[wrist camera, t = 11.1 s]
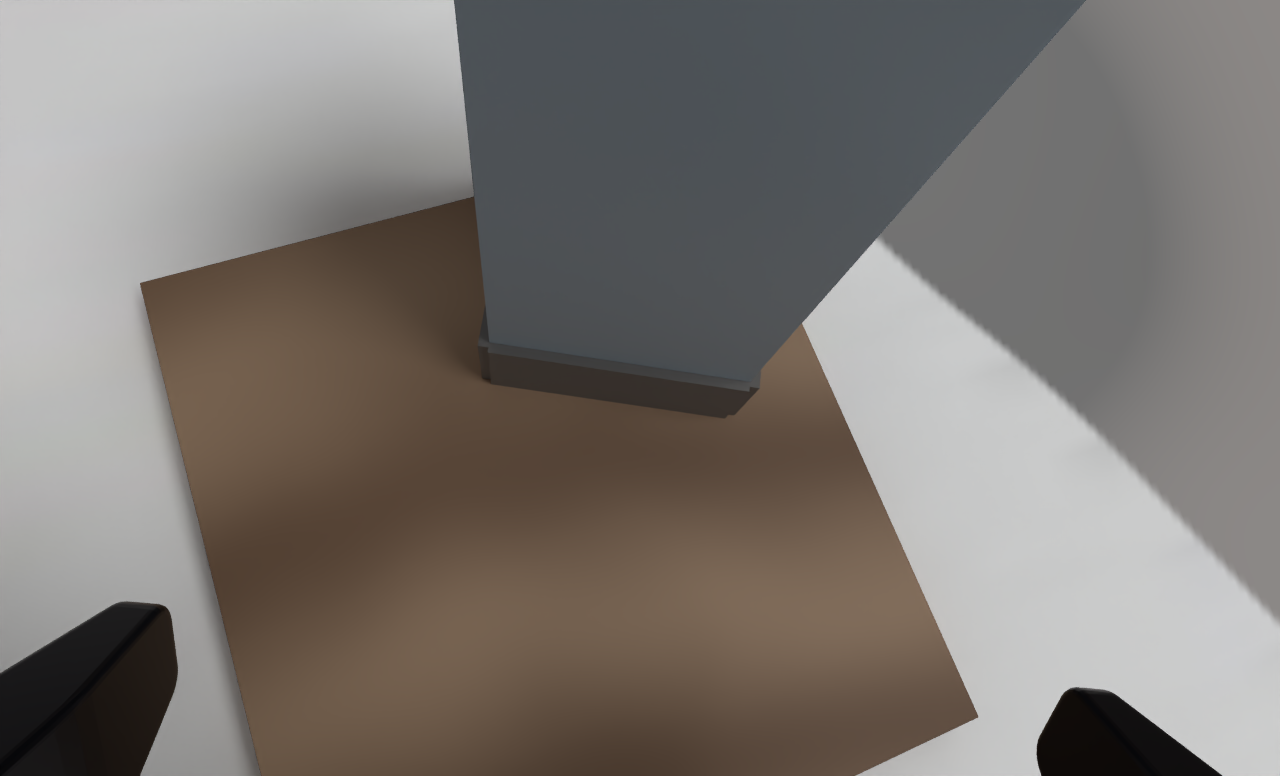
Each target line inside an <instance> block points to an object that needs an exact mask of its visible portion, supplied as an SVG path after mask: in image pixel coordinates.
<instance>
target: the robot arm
mask: <svg viewBox="0 0 1280 776" xmlns="http://www.w3.org/2000/svg"><path fill="white" fill-rule="evenodd" d="M177 675H178V664H177V657H176V649H175V641H174V634H173V626H172V619H171V615H170V612H169V610H168V609H167V608H166V607H165V606H163V605H160V604H150V603H139V602H128V601H126V602H119V603H116V604H114V605H112V606H110V607H108V608H107V609H105V610H103V611H102V612H100V613H98V614H97V615H95V616H93V617H92V618H90V619H88V620H87V621H85V622H84V623H82V624H80V625H79V626H77V627H75V628H74V629H72V630H70V631H69V632H67V633H66V634H64V635H62V636H61V637H59V638H57V639H56V640H54V641H52V642H51V643H49V644H47V645H46V646H44V647H43V648H41V649H39V650H38V651H36V652H34V653H33V654H31V655H29V656H28V657H26V658H24V659H23V660H21V661H20V662H18V663H16V664H15V665H13V666H11V667H10V668H8V669H6V670H5V671H3V672H1V673H0V776H140V774H141V772H142V769H143V767H144V764H145V762H146V760H147V757H148V755H149V752H150V750H151V747H152V745H153V742H154V740H155V737H156V735H157V733H158V730H159V728H160V725H161V723H162V720H163V718H164V715H165V713H166V711H167V708H168V706H169V703H170V701H171V698H172V696H173V693H174V690H175V686H176V682H177ZM1037 761H1038V766H1039V769H1040V773H1041V776H1222V775H1221V774H1220V773H1218V772H1217V771H1216V770H1214V769H1213V768H1212V767H1210V766H1209V765H1208V764H1206V763H1205V762H1204V761H1202V760H1201V759H1200V758H1198V757H1197V756H1196V755H1195V754H1193V753H1192V752H1191V751H1189V750H1188V749H1187V748H1185V747H1184V746H1183V745H1181V744H1180V743H1179V742H1177V741H1176V740H1175V739H1173V738H1172V737H1171V736H1170V735H1168V734H1167V733H1166V732H1164V731H1163V730H1162V729H1160V728H1159V727H1158V726H1156V725H1155V724H1154V723H1152V722H1151V721H1150V720H1148V719H1147V718H1146V717H1145V716H1143V715H1142V714H1141V713H1139V712H1138V711H1137V710H1135V709H1134V708H1133V707H1131V706H1130V705H1129V704H1127V703H1126V702H1125V701H1124V700H1122V699H1121V698H1120V697H1118V696H1117V695H1115V694H1114V693H1112V692H1110V691H1106V690H1101V689H1090V688H1079V687H1074V688H1070V689H1069V690H1067V691H1066V692H1064V694H1063V695H1062V696H1061V698H1060V700H1059V702H1058V704H1057V705H1056V707H1055V709H1054V711H1053V713H1052V715H1051V716H1050V718H1049V720H1048V722H1047V724H1046V726H1045V727H1044V729H1043V731H1042V733H1041V735H1040V737H1039V739H1038V743H1037Z"/></svg>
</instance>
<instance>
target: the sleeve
mask: <svg viewBox="0 0 1280 776" xmlns="http://www.w3.org/2000/svg"><path fill="white" fill-rule="evenodd" d="M1085 1H1086V0H454V4H455V14H456V24H457V33H458V43H459V53H460V63H461V72H462V82H463V92H464V101H465V111H466V121H467V131H468V140H469V150H470V160H471V169H472V179H473V189H474V199H475V208H476V218H477V228H478V237H479V247H480V257H481V267H482V276H483V286H484V296H485V308H484V314H483V319H482V324H481V330H480V335H479V341H478V352H479V359H480V366H481V373H482V378H484V379H490V380H491V384H493V385H500V386H506V387H513V388H520V389H527V390H534V391H541V392H547V393H554V394H561V395H568V396H575V397H581V398H588V399H595V400H602V401H609V402H615V403H622V404H629V405H636V406H643V407H650V408H656V409H663V410H670V411H677V412H684V413H690V414H697V415H704V416H711V417H718V418H724V419H725V418H726V417H727V416H728V415H735V414H736V413H737V412H738V411H739V410H740V409H741V408H742V407H743V406H744V405H745V404H746V402H747V401H748V400H749V399H750V398H751V397H752V396H753V395H754V394H755V393H756V392H757V391H758V390H759V389H760V379H761V369H762V368H763V367H764V365H765V364H766V363H767V362H768V361H769V360H770V359H771V358H772V356H773V355H774V354H775V353H776V352H777V351H778V350H779V348H780V347H781V346H782V345H783V344H784V343H785V342H786V340H787V339H788V338H789V337H790V336H791V335H792V334H793V333H794V331H795V330H796V329H797V328H798V327H799V326H800V325H801V323H802V322H803V321H804V320H805V319H806V318H807V317H808V316H809V314H810V313H811V312H812V311H813V310H814V309H815V308H816V306H817V305H818V304H819V303H820V302H821V301H822V300H823V298H824V297H825V296H826V295H827V294H828V293H829V292H830V291H831V289H832V288H833V287H834V286H835V285H836V284H837V283H838V281H839V280H840V279H841V278H842V277H843V276H844V275H845V273H846V272H847V271H848V270H849V269H850V268H851V267H852V266H853V264H854V263H855V262H856V261H857V260H858V259H859V258H860V256H861V255H862V254H863V253H864V252H865V251H866V250H867V249H868V247H869V246H870V245H871V244H872V243H873V242H874V241H875V239H876V238H877V237H878V236H879V235H880V234H881V233H882V231H883V230H884V229H885V228H886V227H887V226H888V225H889V224H890V222H891V221H892V220H893V219H894V218H895V217H896V216H897V214H898V213H899V212H900V211H901V210H902V209H903V208H904V207H905V205H906V204H907V203H908V202H909V201H910V200H911V199H912V197H913V196H914V195H915V194H916V193H917V192H918V191H919V189H920V188H921V187H922V186H923V185H924V184H925V183H926V181H927V180H928V179H929V178H930V177H931V176H932V175H933V174H934V172H935V171H936V170H937V169H938V168H939V167H940V166H941V164H942V163H943V162H944V161H945V160H946V159H947V158H948V156H949V155H950V154H951V153H952V152H953V151H954V150H955V149H956V147H957V146H958V145H959V144H960V143H961V142H962V141H963V140H964V138H965V137H966V136H967V135H968V134H969V133H970V132H971V130H972V129H973V128H974V127H975V126H976V125H977V124H978V122H979V121H980V120H981V119H982V118H983V117H984V116H985V115H986V113H987V112H988V111H989V110H990V109H991V108H992V107H993V105H994V104H995V103H996V102H997V101H998V100H999V99H1000V97H1001V96H1002V95H1003V94H1004V93H1005V92H1006V91H1007V89H1008V88H1009V87H1010V86H1011V85H1012V84H1013V83H1014V82H1015V80H1016V79H1017V78H1018V77H1019V76H1020V75H1021V74H1022V73H1023V71H1024V70H1025V69H1026V68H1027V67H1028V66H1029V65H1030V63H1031V62H1032V61H1033V60H1034V59H1035V58H1036V57H1037V55H1038V54H1039V53H1040V52H1041V51H1042V50H1043V49H1044V47H1045V46H1046V45H1047V44H1048V43H1049V42H1050V41H1051V39H1052V38H1053V37H1054V36H1055V35H1056V33H1058V32H1059V30H1060V29H1061V28H1062V27H1063V26H1064V25H1065V24H1066V23H1067V21H1068V20H1069V19H1070V18H1071V17H1072V16H1073V15H1074V13H1075V12H1076V11H1077V10H1078V9H1079V8H1080V6H1081V5H1082V4H1083V3H1084V2H1085Z"/></svg>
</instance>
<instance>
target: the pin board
mask: <svg viewBox="0 0 1280 776" xmlns="http://www.w3.org/2000/svg"><path fill="white" fill-rule="evenodd" d="M140 285H141V290H142V294H143V298H144V302H145V306H146V310H147V314H148V318H149V322H150V326H151V330H152V334H153V338H154V342H155V346H156V350H157V355H158V359H159V363H160V367H161V371H162V375H163V379H164V383H165V387H166V391H167V395H168V399H169V403H170V407H171V411H172V415H173V419H174V424H175V428H176V432H177V436H178V440H179V444H180V448H181V452H182V456H183V460H184V464H185V468H186V472H187V476H188V480H189V484H190V489H191V493H192V497H193V501H194V505H195V509H196V513H197V517H198V521H199V525H200V529H201V533H202V537H203V541H204V545H205V549H206V554H207V558H208V562H209V566H210V570H211V574H212V578H213V582H214V586H215V590H216V594H217V598H218V602H219V606H220V610H221V614H222V618H223V623H224V627H225V631H226V635H227V639H228V643H229V647H230V651H231V655H232V659H233V663H234V667H235V671H236V675H237V679H238V683H239V688H240V692H241V696H242V700H243V704H244V708H245V712H246V716H247V720H248V724H249V728H250V732H251V736H252V740H253V744H254V748H255V753H256V757H257V761H258V765H259V769H260V773H261V776H855V775H858V774H860V773H862V772H864V771H866V770H868V769H870V768H872V767H874V766H876V765H879V764H881V763H883V762H885V761H887V760H889V759H891V758H893V757H895V756H898V755H900V754H902V753H904V752H906V751H908V750H910V749H912V748H914V747H916V746H919V745H921V744H923V743H925V742H927V741H929V740H931V739H933V738H935V737H938V736H940V735H942V734H944V733H946V732H948V731H950V730H952V729H954V728H957V727H959V726H961V725H963V724H965V723H967V722H969V721H971V720H973V719H975V718H978V715H977V712H976V710H975V708H974V706H973V703H972V701H971V699H970V697H969V695H968V692H967V690H966V688H965V686H964V683H963V681H962V679H961V677H960V674H959V672H958V670H957V668H956V666H955V663H954V661H953V659H952V657H951V654H950V652H949V650H948V648H947V646H946V643H945V641H944V639H943V637H942V634H941V632H940V630H939V628H938V625H937V623H936V621H935V619H934V617H933V614H932V612H931V610H930V608H929V605H928V603H927V601H926V599H925V597H924V594H923V592H922V590H921V588H920V585H919V583H918V581H917V579H916V576H915V574H914V572H913V570H912V568H911V565H910V563H909V561H908V559H907V556H906V554H905V552H904V550H903V547H902V545H901V543H900V541H899V539H898V536H897V534H896V532H895V530H894V527H893V525H892V523H891V521H890V519H889V516H888V514H887V512H886V510H885V507H884V505H883V503H882V501H881V498H880V496H879V494H878V492H877V490H876V487H875V485H874V483H873V481H872V478H871V476H870V474H869V472H868V470H867V467H866V465H865V463H864V461H863V458H862V456H861V454H860V452H859V449H858V447H857V445H856V443H855V441H854V438H853V436H852V434H851V432H850V429H849V427H848V425H847V423H846V421H845V418H844V416H843V414H842V412H841V409H840V407H839V405H838V403H837V400H836V398H835V396H834V394H833V392H832V389H831V387H830V385H829V383H828V380H827V378H826V376H825V374H824V372H823V369H822V367H821V365H820V363H819V360H818V358H817V356H816V354H815V351H814V349H813V347H812V345H811V343H810V340H809V338H808V336H807V334H806V331H805V329H804V327H803V325H802V323H801V325H800V326H799V327H798V328H797V329H796V330H795V331H794V333H793V334H792V335H791V336H790V337H789V338H788V339H787V340H786V342H785V343H784V344H783V345H782V346H781V347H780V348H779V350H778V351H777V352H776V353H775V354H774V355H773V356H772V358H771V359H770V360H769V361H768V362H767V363H766V364H765V365H764V367H763V368H762V369H761V379H760V389H759V390H758V391H757V392H756V393H755V394H754V395H753V396H752V397H751V398H750V399H749V400H748V401H747V402H746V404H745V405H744V406H743V407H742V408H741V409H740V410H739V411H738V412H737V413H736V414H735V415H728V416H727V417H726V418H725V419H724V418H718V417H711V416H704V415H697V414H690V413H684V412H677V411H670V410H663V409H656V408H650V407H643V406H636V405H629V404H622V403H615V402H609V401H602V400H595V399H588V398H581V397H575V396H568V395H561V394H554V393H547V392H541V391H534V390H527V389H520V388H513V387H506V386H500V385H493V384H491V380H490V379H484V378H482V373H481V366H480V359H479V352H478V341H479V335H480V330H481V324H482V319H483V314H484V308H485V296H484V286H483V276H482V267H481V257H480V247H479V237H478V228H477V218H476V208H475V199H474V197H471V198H467V199H463V200H459V201H455V202H452V203H448V204H444V205H440V206H436V207H432V208H428V209H425V210H421V211H417V212H413V213H409V214H405V215H401V216H398V217H394V218H390V219H386V220H382V221H378V222H374V223H371V224H367V225H363V226H359V227H355V228H351V229H347V230H343V231H340V232H336V233H332V234H328V235H324V236H320V237H316V238H313V239H309V240H305V241H301V242H297V243H293V244H289V245H286V246H282V247H278V248H274V249H270V250H266V251H262V252H258V253H255V254H251V255H247V256H243V257H239V258H235V259H231V260H228V261H224V262H220V263H216V264H212V265H208V266H204V267H201V268H197V269H193V270H189V271H185V272H181V273H177V274H174V275H170V276H166V277H162V278H158V279H154V280H150V281H146V282H143V283H140Z"/></svg>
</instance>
